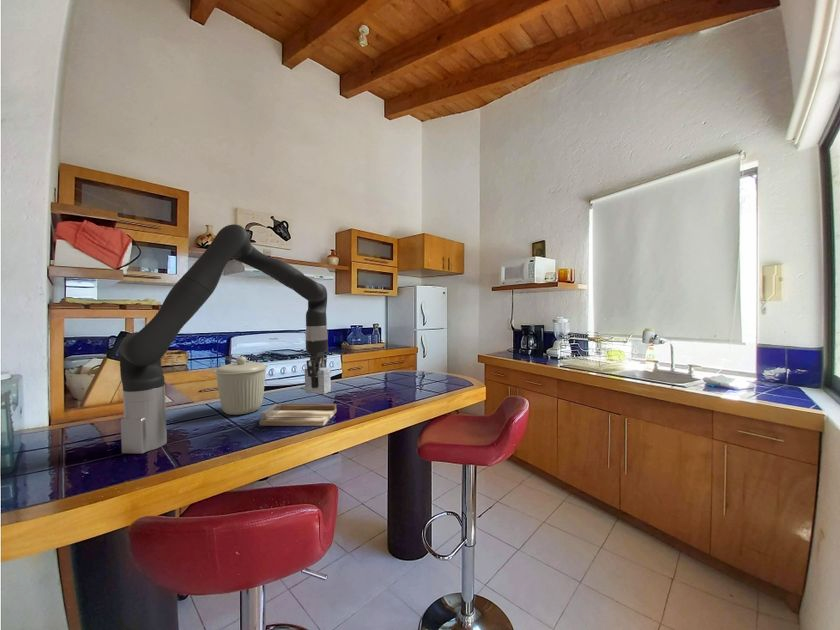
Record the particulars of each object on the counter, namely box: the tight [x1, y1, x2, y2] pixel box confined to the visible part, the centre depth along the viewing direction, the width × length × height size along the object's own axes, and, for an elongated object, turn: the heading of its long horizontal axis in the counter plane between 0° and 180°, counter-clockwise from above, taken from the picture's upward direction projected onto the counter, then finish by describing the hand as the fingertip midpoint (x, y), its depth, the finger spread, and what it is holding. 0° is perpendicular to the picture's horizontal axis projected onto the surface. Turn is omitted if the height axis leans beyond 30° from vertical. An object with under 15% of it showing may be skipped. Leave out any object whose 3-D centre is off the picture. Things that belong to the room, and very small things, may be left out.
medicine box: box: [304, 367, 332, 395], centre depth 117 cm, size 8×4×9 cm, turn 75°
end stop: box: [260, 403, 282, 420], centre depth 116 cm, size 10×2×2 cm, turn 177°
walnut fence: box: [280, 403, 337, 410], centre depth 122 cm, size 2×22×2 cm, turn 87°
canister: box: [213, 356, 269, 416], centre depth 125 cm, size 18×18×21 cm
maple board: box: [258, 408, 337, 427], centre depth 116 cm, size 14×22×2 cm, turn 87°
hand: (317, 385), depth 117 cm, fingers closed on medicine box, 5 cm apart
